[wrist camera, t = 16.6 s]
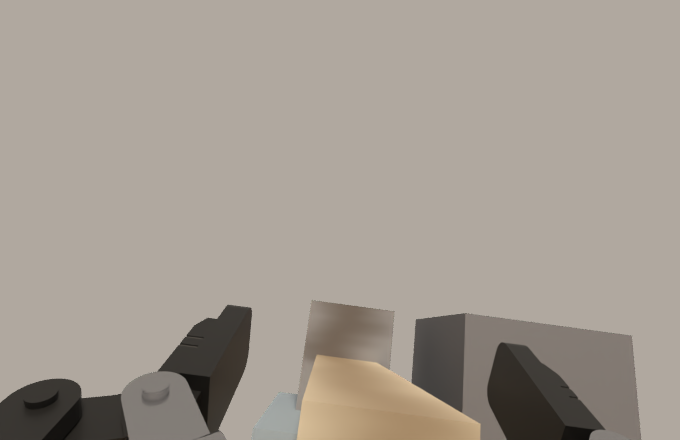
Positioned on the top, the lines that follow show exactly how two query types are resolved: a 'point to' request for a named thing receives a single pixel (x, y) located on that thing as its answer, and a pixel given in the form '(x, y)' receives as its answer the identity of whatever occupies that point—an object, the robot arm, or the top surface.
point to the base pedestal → (279, 419)
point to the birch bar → (365, 384)
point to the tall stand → (549, 347)
